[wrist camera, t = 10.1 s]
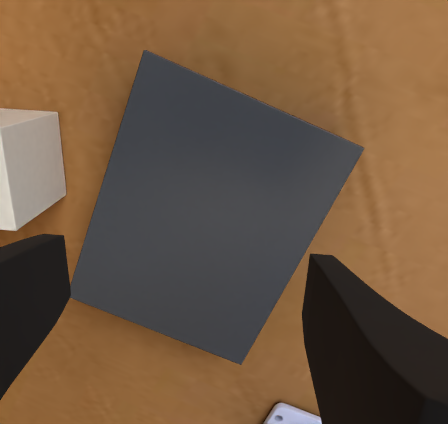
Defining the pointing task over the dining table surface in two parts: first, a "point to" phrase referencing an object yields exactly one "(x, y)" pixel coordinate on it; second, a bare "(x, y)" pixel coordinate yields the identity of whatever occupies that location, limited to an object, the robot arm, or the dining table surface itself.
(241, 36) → the dining table surface
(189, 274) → the dark grey rectangular slab
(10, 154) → the white box
